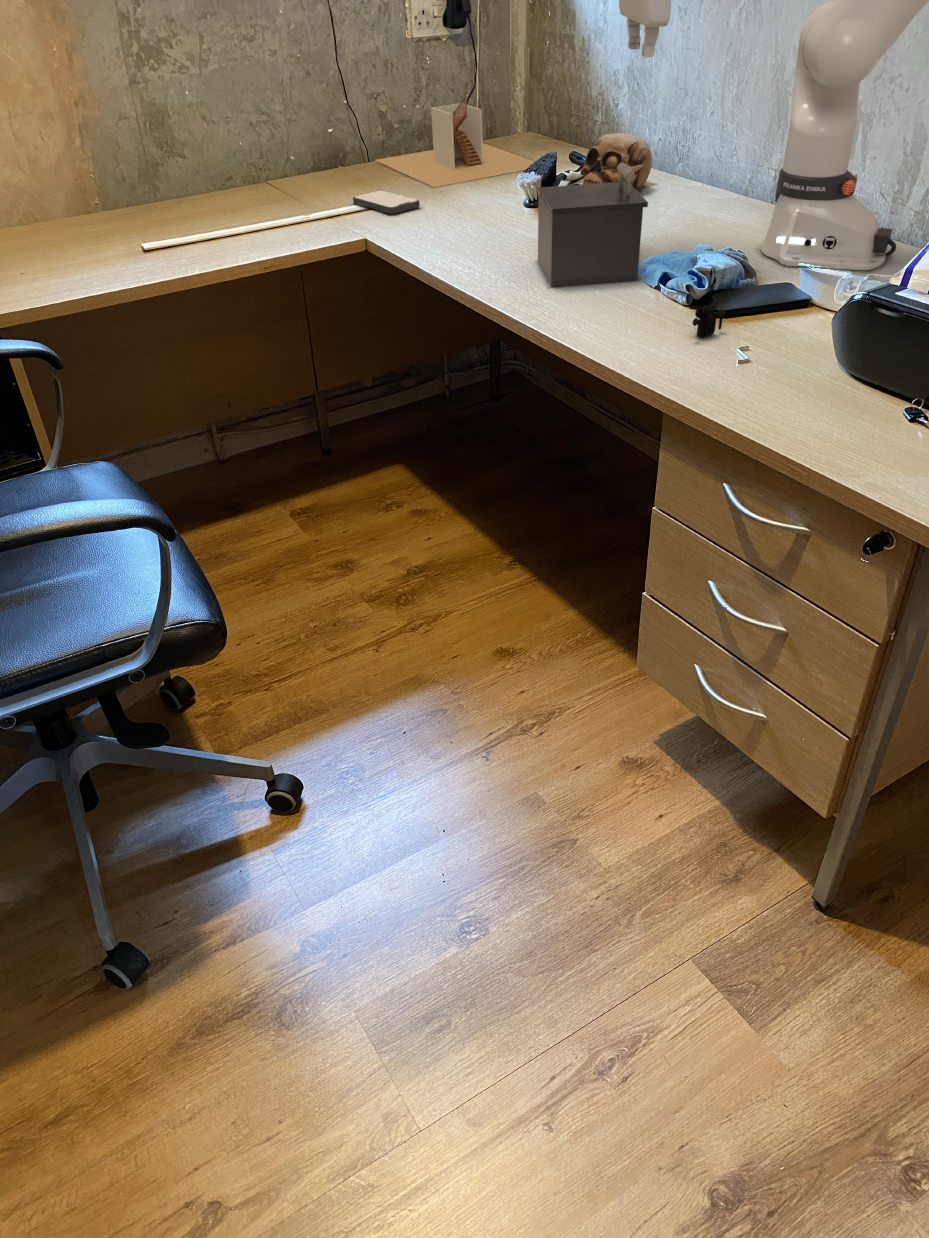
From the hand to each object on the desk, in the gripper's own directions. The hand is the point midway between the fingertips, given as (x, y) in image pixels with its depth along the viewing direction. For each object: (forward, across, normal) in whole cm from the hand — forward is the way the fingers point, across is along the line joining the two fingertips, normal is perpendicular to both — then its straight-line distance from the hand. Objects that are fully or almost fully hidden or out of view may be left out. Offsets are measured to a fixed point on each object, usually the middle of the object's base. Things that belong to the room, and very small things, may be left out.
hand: (640, 53), depth 155 cm
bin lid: (+21, -9, +9) cm, 24 cm away
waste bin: (+33, -9, +10) cm, 36 cm away
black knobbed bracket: (+33, -43, -2) cm, 54 cm away
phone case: (+33, +45, +45) cm, 72 cm away
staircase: (+33, +81, +25) cm, 91 cm away
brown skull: (+33, +41, -6) cm, 53 cm away
